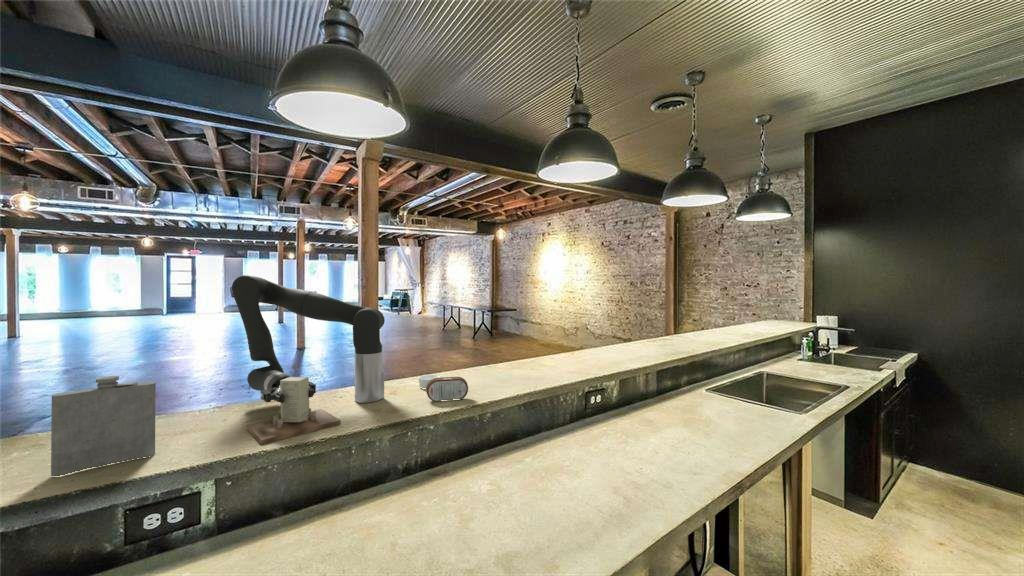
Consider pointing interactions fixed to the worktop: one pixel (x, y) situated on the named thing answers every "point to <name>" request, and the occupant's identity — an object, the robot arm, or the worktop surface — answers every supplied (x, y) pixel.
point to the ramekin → (426, 380)
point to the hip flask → (102, 425)
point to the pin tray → (291, 426)
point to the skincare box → (295, 399)
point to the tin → (447, 388)
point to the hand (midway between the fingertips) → (297, 396)
